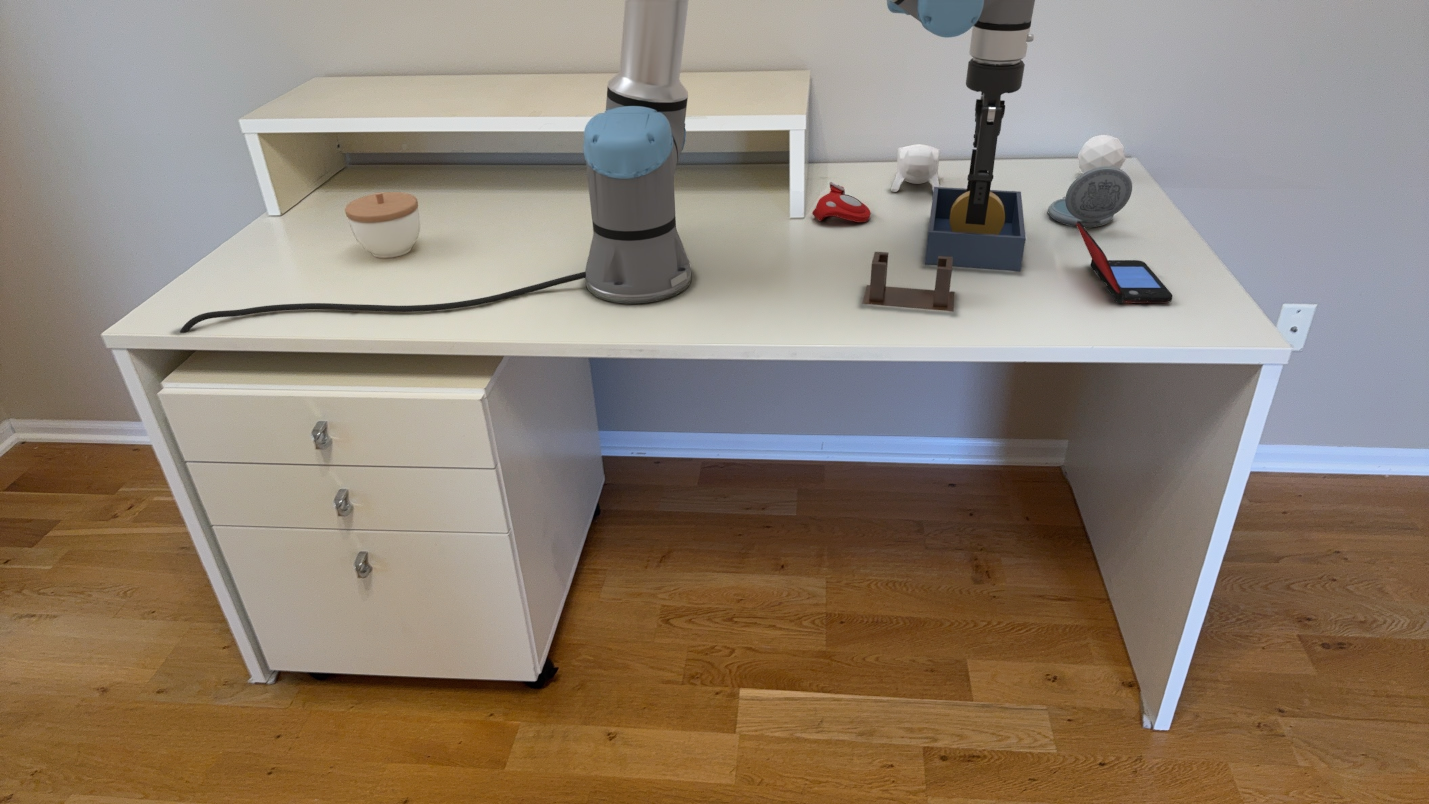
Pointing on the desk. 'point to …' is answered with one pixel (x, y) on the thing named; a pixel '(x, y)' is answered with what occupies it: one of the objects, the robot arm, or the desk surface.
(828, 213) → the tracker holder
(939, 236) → the bin
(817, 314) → the desk surface
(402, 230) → the trinket box
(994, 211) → the disc
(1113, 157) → the geometric ball
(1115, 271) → the handheld console
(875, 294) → the holder
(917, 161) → the white animal figurine
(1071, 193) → the pocket watch
